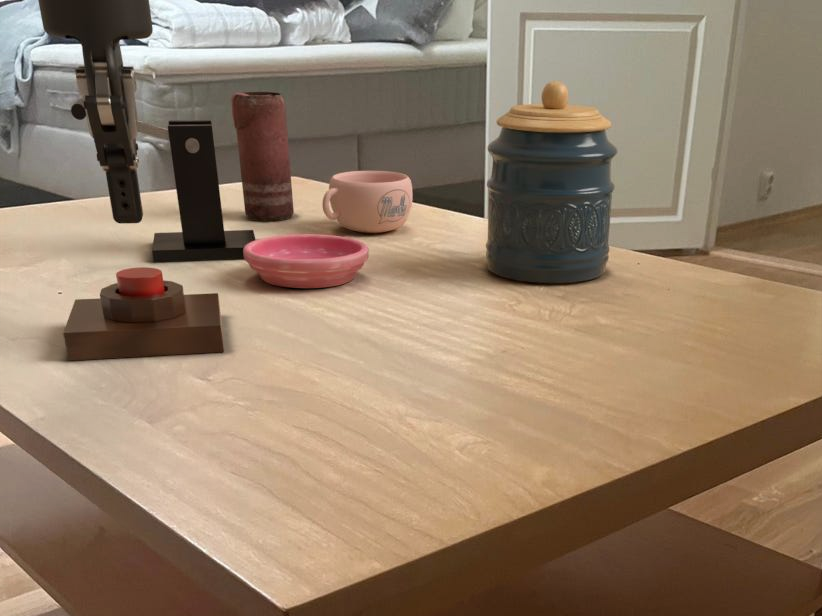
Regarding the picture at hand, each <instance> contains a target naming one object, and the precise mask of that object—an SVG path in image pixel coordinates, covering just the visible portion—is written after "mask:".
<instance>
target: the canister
mask: <svg viewBox="0 0 822 616" xmlns="http://www.w3.org/2000/svg"><path fill="white" fill-rule="evenodd" d="M568 102H569V91H568V88H567V86H566V85H565V83H563V82H561V81H556V80H553V81H550V82H548V83H546V84H545V86H544V87H543V89H542V92H541V103H534V104H533V103H529V104H527V103H526V104H518V105H514V106H512V107H510V109H509V111H507V112H506V113H505V114H503V115H501V116H500V117H499V118H497V119H496V125H497V126H499V127H501V129H500V132H499V134H498V136H497V138H495V139H494V140H492V141H491V142H490V143H489V144H487V152H489V154H490V156H491V157H492V166H491V167H492V168H491V175H490V177H489V179H488V180H487V181H486V187H487V189H488V199H487V200H488V201H487V202H488V204H487V205H488V206H487V213H488V214H487V240H486V243H485V249H486V251H485V257H486V260H487V269H488V270H489V271H490V272H491V273H493V274H495V275H497V276H500V277H502V278H506V279H510V280H514V281H519V282H520V281H521V282H528V283H537V284H538V283H539V284H540V283H541V284H568V283H578V282H584V281H585V282H586V281H590V280H593V279H596V278H598V277H601V276H602V275H603V274H605V272H606V269H607V268H606V267H607V263H608V261H609V258H610V256H609V252H610V246H609V239H610V238H609V237H610V226H611V215H612V214H611V213H612V201H613V192H614V191H615V187H616V185H615V183H613V182H612V175H611V173H612V171H611V170H612V167H611V166H612V161H613V159H614V158H615V157H616V155H617V154H618V148H617V146H615V145H614V144H613V143H612V142H611V141H610V140H609V139H608V136H607V131H606V130H608V129H610V128H611V126H612V122H611V121H610V120H609V119H607V118H606V117H604V116H603V115H602V114H601V113H600V111H599V110H598V108H596V107H591V106H586V105H578V104H577V105H576V104H568Z"/></svg>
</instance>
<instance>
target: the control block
mask: <svg viewBox="0 0 822 616" xmlns="http://www.w3.org/2000/svg"><path fill="white" fill-rule="evenodd" d="M163 282H164V289H165V292H163V293H161V294H156V295H150V296H137V297H131V296H122V295H119V289H118V284H117V282H116V283H112V284H110V285H107V286H105V287H103V288H101V289H100V293H99V298H78V299H77V298H75V300H74V301H73V304H72V307H71V310H70V313H69V316H68V319H67V321H66V324H65V326H64V330H63V332H62V335H63V341H64V345H65V349H66V354H67V355H66V356H67V359H68V361H70V362H71V361H72V362H73V361H86V360H87V361H89V360H104V359H106V360H107V359H122V358H123V359H124V358H125V359H126V358H140V357H141V358H142V357H157V356H176V355H194V354H196V355H197V354H210V353H224V352H225V347H224V336H223V335H224V334H223V323H222V313H221V305H220V297H219V293H218V292H216V293H215V292H213V293H212V292H211V293H192V294H191V293H189V294H185V293H184V287H183V284H180V283H177V282H175V281H172V280H164V279H163Z"/></svg>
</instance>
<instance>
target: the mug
mask: <svg viewBox="0 0 822 616" xmlns="http://www.w3.org/2000/svg"><path fill="white" fill-rule="evenodd" d="M413 197H414V194H413V184H412V181H411V179H410V177H409V176H408V175H407V174H404V173H401V172H395V171H388V170H387V171H386V170H356V171H355V170H353V171H344V172H339V173H335V174H334V175H332V176H331V178H330V179H329V185H328V190H326V192H325V193H324V195H323V198H322V203H321V204H322V206H321V207H322V211H323V213H324V215H325V217H326V218H327V219H328V220H330V221H335V220H337V222H338V224H339V225H340V226H341V227H343V228H344V229H347V230H351V231H355V232H359V233H366V234H379V233H386V232H390V231H393V230H396V229H399V228H401V227H403V226H404V225H405V224H406V223H407V220H408V218H409V215H410V212H411V209H412V206H413V200H414V198H413ZM330 207H331V209H330ZM331 210H332V211H331Z"/></svg>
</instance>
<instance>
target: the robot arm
mask: <svg viewBox="0 0 822 616" xmlns="http://www.w3.org/2000/svg"><path fill="white" fill-rule="evenodd" d="M37 2H38V7H39V12H40V17H41V23H42V28H43V31H44V32H45V34H47V36H49V37H52V38H54V39H55V38H56V39H65V40H66V39H68V40H69V39H71V40H72V39H73V40H76V41H78V43H79V44H80V45H81V51H82V52H81V53H82V59H83V65H78V66H77V67H78V68H75V69H74V72H75V78H76V79H75V80H76V85H77V90H78V94H79V96H80V97H82V99H84V108H85V111H86V116H87V117H86V121H87V127H88V132H89V135H90V137H91V138H92V139H93V142H94V147H95V150H96V161H97V162H98V163H99V166H100V168H101V167H102V171H103V172H104V173H105V177H106V184H107V189H108V195H109V201H110V207H111V213H112V218H113V220H114V222H115V223H116V224H139V223H141V222H142V221H143V216H144V209H143V204H142V197H141V191H140V184H139V178H138V169H137V168H138V167H139V163H140V161H139V159H140V158H139V156H138V151H139V144H138V143H137V139H136V138H137V136H138V133H139V132H138V130H139V124H138V120H139V118H138V111H137V103H136V97H135V94H136V91H137V80H136V79H137V78H136V74H135V67H134V66H133V65H132V66H131V65H130V66H129V65H124V61H123V55H122V50H121V44H120V41H122V40H127V41H129V40H130V41H131V40H143V39H148V38H150V37H152V36H151V35H152V34H153V28H154V27H153V21H152V20H153V19H152V13H151V6H150V0H37Z"/></svg>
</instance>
